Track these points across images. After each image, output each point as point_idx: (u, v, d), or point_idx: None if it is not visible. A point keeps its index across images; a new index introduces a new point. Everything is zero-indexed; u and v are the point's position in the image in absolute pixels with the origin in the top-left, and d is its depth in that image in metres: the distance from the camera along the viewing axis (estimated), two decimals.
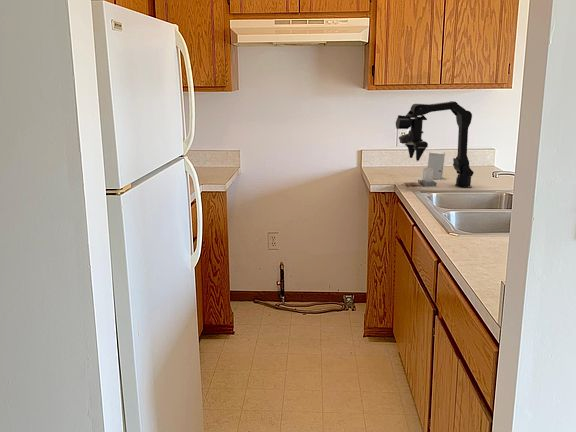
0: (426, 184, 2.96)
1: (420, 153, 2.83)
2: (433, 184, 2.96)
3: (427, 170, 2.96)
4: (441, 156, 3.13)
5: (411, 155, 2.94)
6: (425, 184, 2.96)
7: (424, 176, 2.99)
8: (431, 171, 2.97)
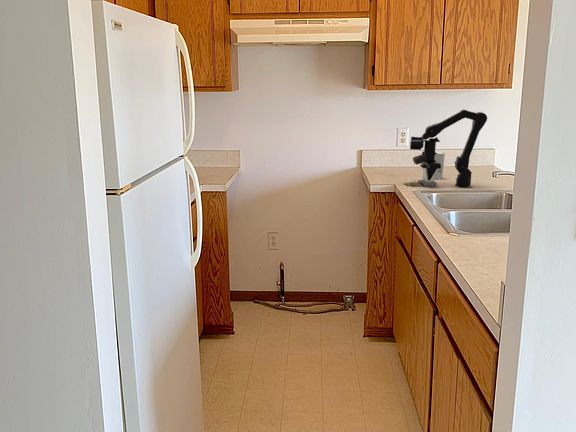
0: (426, 184, 2.96)
1: (432, 173, 2.95)
2: (433, 184, 2.96)
3: None
4: (441, 156, 3.13)
5: None
6: (425, 184, 2.96)
7: (424, 176, 2.99)
8: None
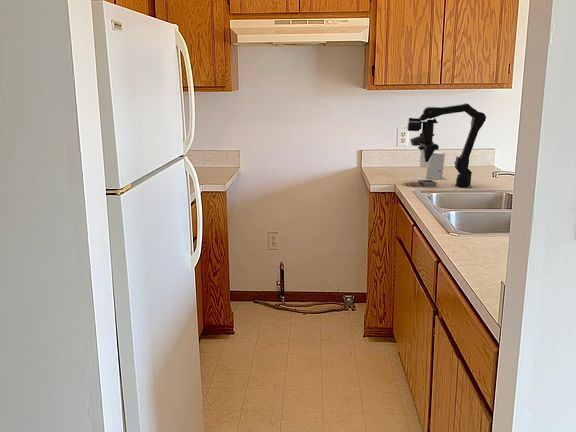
0: (426, 184, 2.96)
1: (429, 154, 2.93)
2: (433, 184, 2.96)
3: None
4: (441, 156, 3.13)
5: None
6: (425, 184, 2.96)
7: (421, 158, 2.96)
8: None
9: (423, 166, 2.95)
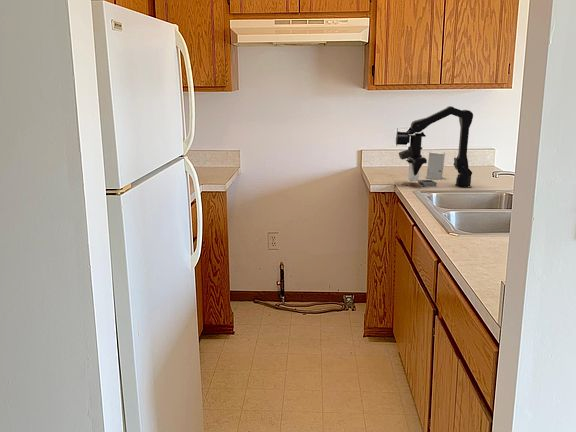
0: (426, 184, 2.96)
1: (418, 168, 2.94)
2: (433, 184, 2.96)
3: None
4: (441, 156, 3.13)
5: None
6: (425, 184, 2.96)
7: (410, 171, 2.97)
8: None
9: (412, 179, 2.96)
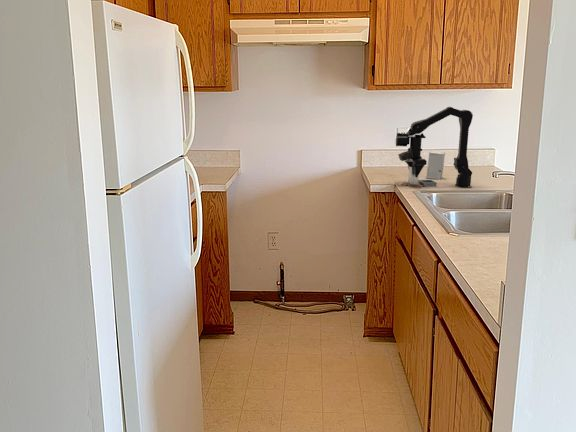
0: (426, 184, 2.96)
1: (419, 170, 2.92)
2: (433, 184, 2.96)
3: (413, 168, 2.95)
4: (441, 156, 3.13)
5: None
6: (425, 184, 2.96)
7: (409, 175, 2.98)
8: None
9: (411, 183, 2.97)
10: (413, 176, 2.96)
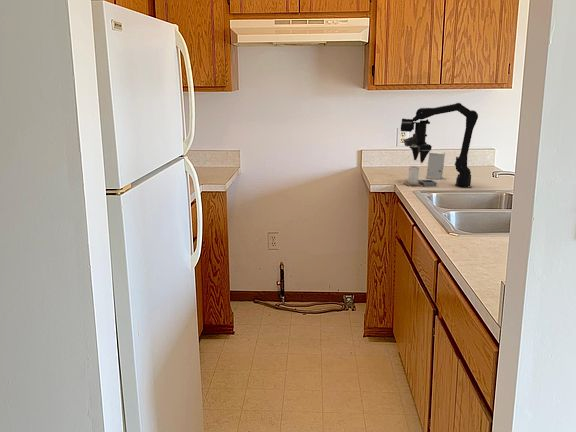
0: (426, 184, 2.96)
1: (424, 155, 2.94)
2: (433, 184, 2.96)
3: (413, 168, 2.95)
4: (441, 156, 3.13)
5: (415, 157, 3.05)
6: (425, 184, 2.96)
7: (409, 175, 2.98)
8: (417, 170, 2.95)
9: (411, 183, 2.97)
10: (413, 176, 2.96)
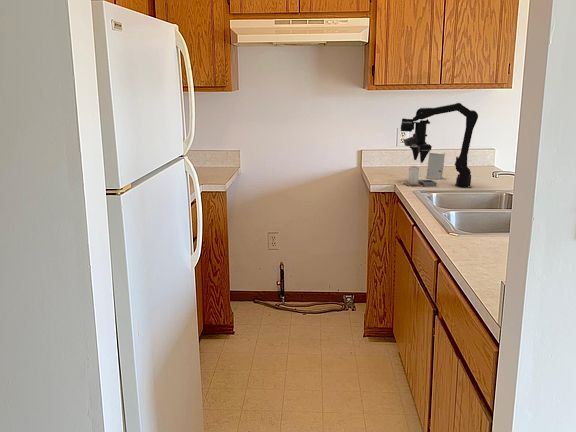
0: (426, 184, 2.96)
1: (424, 155, 2.95)
2: (433, 184, 2.96)
3: (413, 168, 2.95)
4: (441, 156, 3.13)
5: (415, 157, 3.05)
6: (425, 184, 2.96)
7: (409, 175, 2.98)
8: (417, 170, 2.95)
9: (411, 183, 2.97)
10: (413, 176, 2.96)
